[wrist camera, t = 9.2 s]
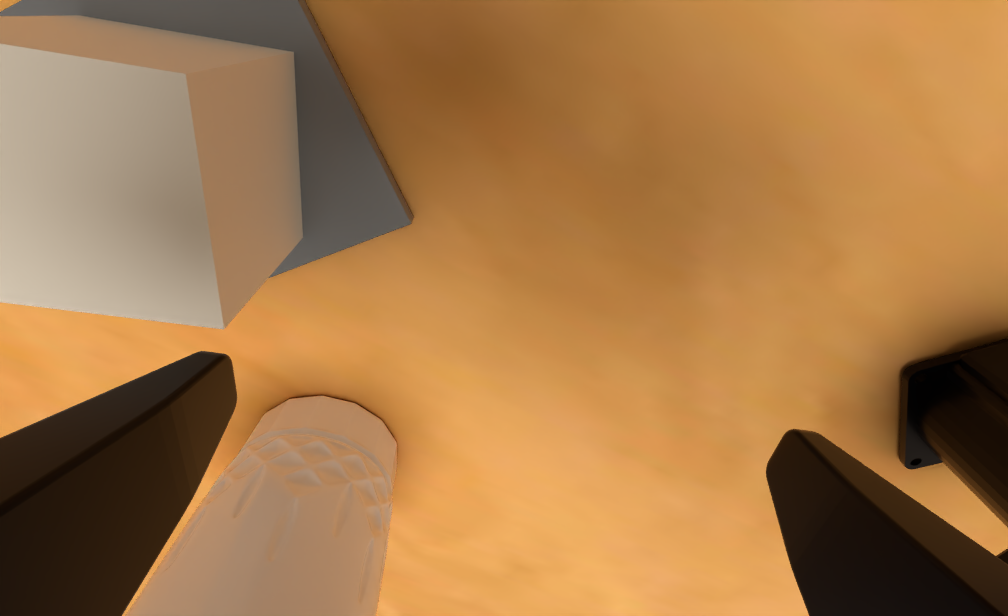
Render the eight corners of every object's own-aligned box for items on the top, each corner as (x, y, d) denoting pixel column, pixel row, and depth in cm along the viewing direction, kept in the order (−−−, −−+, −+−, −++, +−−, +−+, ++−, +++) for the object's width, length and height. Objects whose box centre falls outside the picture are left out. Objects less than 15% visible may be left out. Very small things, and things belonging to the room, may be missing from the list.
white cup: (371, 519, 27) (311, 757, 18) (223, 467, 25) (77, 709, 16) (439, 426, 24) (405, 665, 15) (274, 356, 21) (124, 589, 13)
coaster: (413, 217, 18) (411, 223, 18) (187, 304, 20) (179, 311, 19) (247, -114, 13) (237, -119, 13) (-32, 38, 15) (-50, 39, 15)
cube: (293, 51, 15) (185, 74, 10) (302, 237, 18) (223, 329, 13) (79, 15, 14) (-156, 18, 9) (126, 212, 17) (-31, 298, 12)
